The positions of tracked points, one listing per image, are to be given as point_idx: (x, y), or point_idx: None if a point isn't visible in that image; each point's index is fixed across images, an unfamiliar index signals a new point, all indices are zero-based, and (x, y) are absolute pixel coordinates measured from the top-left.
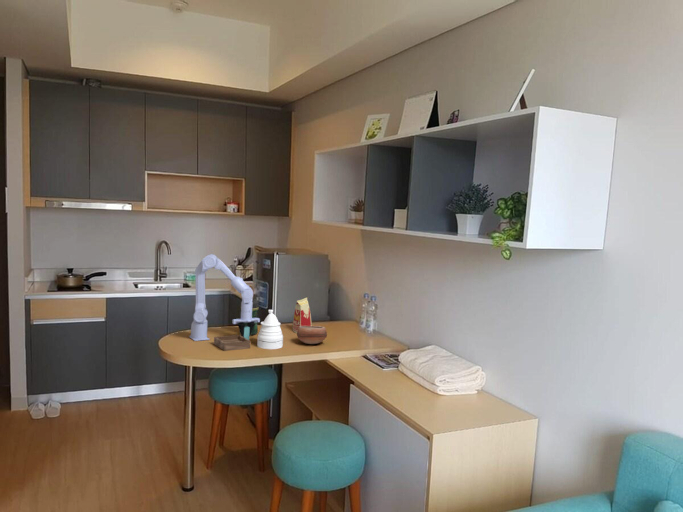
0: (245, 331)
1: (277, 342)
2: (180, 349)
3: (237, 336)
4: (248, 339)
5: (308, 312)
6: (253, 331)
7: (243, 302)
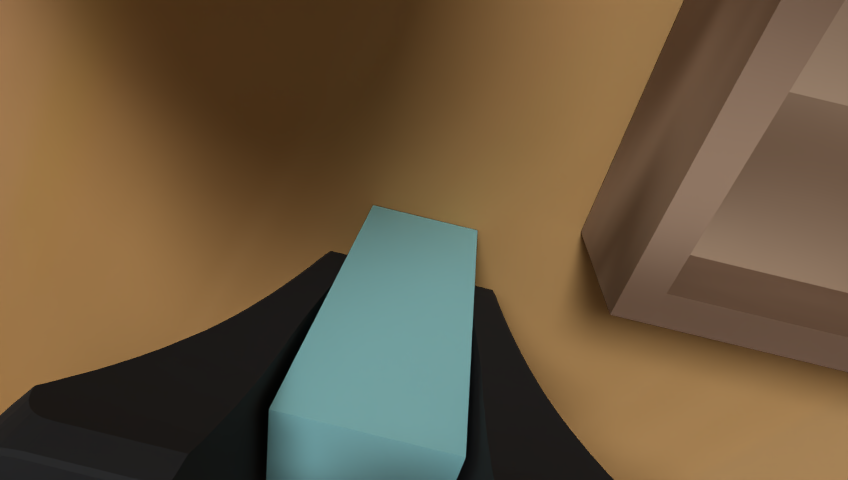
0: (431, 347)
1: None
2: None
3: (694, 286)
4: (382, 216)
5: None
6: None
7: None
